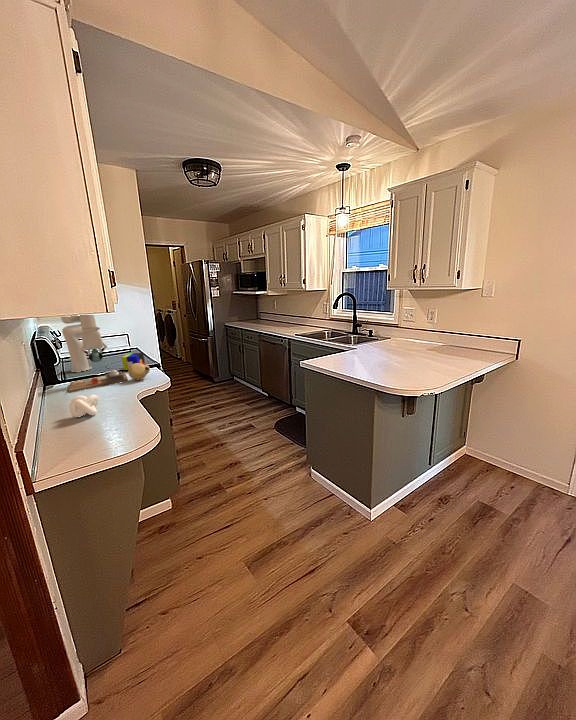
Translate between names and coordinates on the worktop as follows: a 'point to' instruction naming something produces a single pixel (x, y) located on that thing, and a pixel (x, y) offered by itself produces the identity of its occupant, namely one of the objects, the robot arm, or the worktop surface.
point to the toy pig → (138, 371)
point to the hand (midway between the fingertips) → (96, 359)
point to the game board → (89, 384)
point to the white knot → (83, 405)
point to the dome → (113, 373)
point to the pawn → (95, 355)
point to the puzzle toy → (132, 359)
